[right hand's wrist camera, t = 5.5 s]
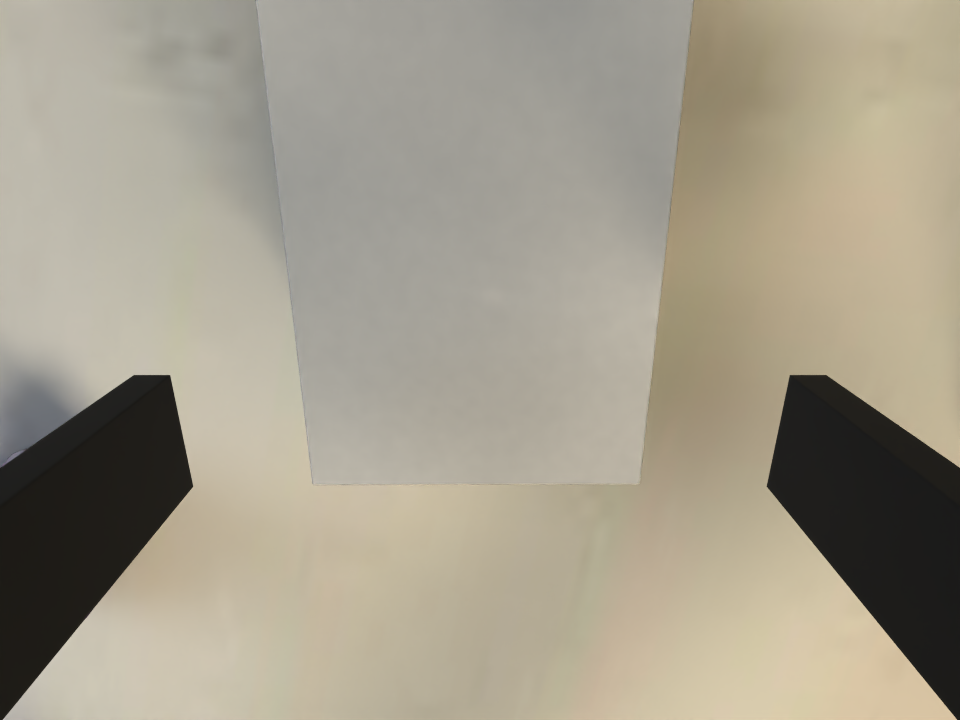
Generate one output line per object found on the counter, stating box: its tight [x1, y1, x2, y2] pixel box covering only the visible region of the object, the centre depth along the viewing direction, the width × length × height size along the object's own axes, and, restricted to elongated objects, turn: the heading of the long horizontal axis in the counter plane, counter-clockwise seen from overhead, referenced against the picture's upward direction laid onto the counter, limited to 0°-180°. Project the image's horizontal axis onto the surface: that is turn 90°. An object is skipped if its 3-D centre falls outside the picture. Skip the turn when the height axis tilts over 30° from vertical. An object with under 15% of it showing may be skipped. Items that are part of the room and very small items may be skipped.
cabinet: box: [256, 0, 694, 485], centre depth 21 cm, size 17×11×9 cm, turn 0°
